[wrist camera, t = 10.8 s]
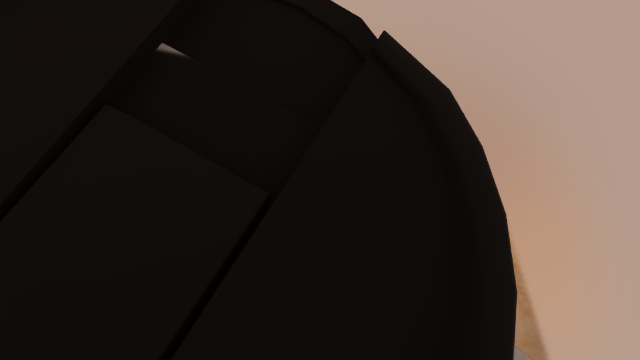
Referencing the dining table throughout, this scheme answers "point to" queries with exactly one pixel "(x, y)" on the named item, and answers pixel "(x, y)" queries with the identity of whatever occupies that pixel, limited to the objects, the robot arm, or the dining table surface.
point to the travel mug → (239, 190)
